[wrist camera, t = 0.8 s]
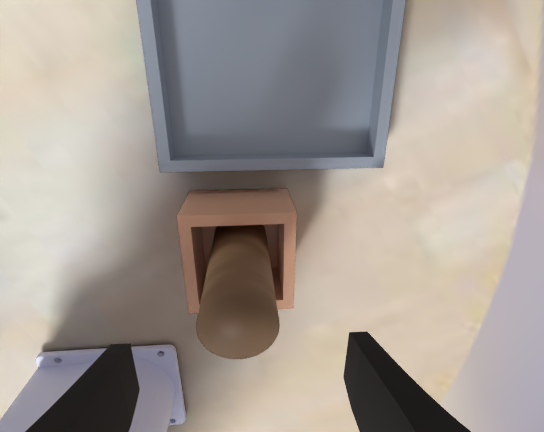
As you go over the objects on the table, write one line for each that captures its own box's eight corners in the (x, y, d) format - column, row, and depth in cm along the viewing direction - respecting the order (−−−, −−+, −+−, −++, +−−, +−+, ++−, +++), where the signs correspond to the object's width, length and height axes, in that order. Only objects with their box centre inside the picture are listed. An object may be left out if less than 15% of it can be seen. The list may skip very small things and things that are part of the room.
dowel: (216, 260, 20) (199, 361, 13) (212, 213, 19) (192, 295, 12) (266, 258, 20) (279, 356, 13) (266, 212, 19) (279, 291, 12)
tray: (167, 164, 18) (159, 172, 17) (139, -53, 14) (126, -71, 13) (371, 160, 19) (383, 167, 17) (395, -45, 15) (413, -61, 14)
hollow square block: (198, 274, 21) (188, 313, 17) (189, 190, 19) (176, 216, 15) (285, 270, 22) (293, 308, 18) (286, 188, 19) (296, 212, 16)
